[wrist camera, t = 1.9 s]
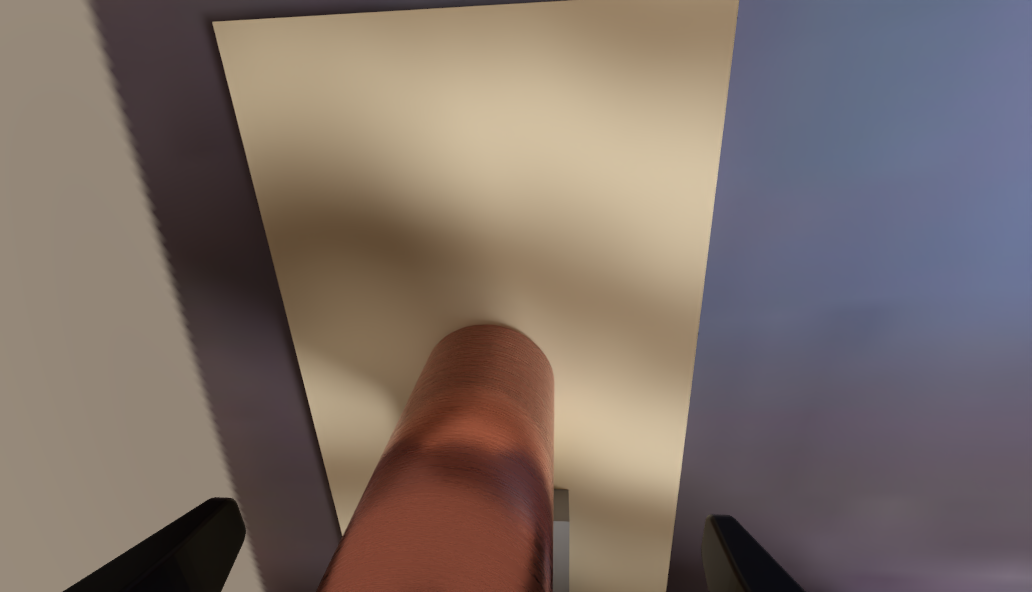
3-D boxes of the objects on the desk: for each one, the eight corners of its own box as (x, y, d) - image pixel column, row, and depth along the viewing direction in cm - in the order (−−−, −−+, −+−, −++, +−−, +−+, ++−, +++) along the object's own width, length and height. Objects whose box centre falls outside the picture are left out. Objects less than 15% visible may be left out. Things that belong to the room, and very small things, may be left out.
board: (642, 717, 21) (682, 1007, 14) (397, 700, 22) (328, 964, 15) (723, -1, 10) (1026, -167, 4) (240, 27, 11) (-212, -63, 5)
